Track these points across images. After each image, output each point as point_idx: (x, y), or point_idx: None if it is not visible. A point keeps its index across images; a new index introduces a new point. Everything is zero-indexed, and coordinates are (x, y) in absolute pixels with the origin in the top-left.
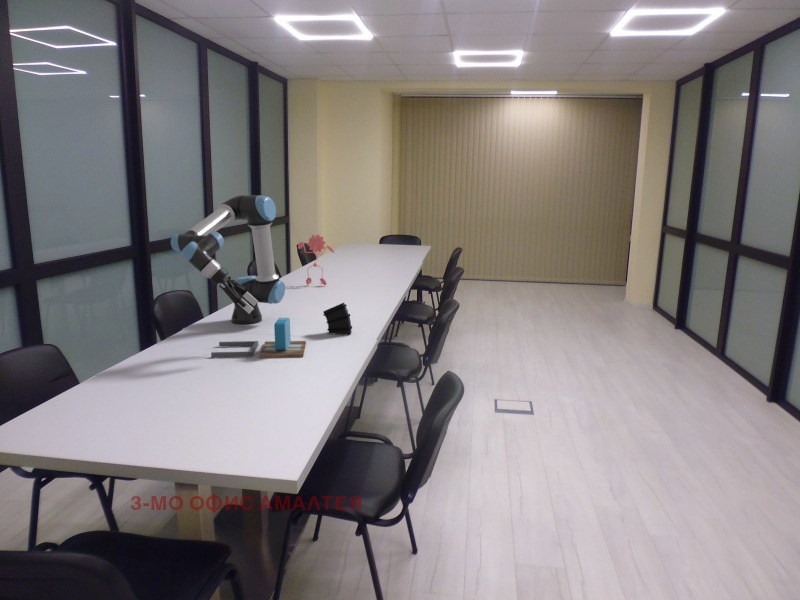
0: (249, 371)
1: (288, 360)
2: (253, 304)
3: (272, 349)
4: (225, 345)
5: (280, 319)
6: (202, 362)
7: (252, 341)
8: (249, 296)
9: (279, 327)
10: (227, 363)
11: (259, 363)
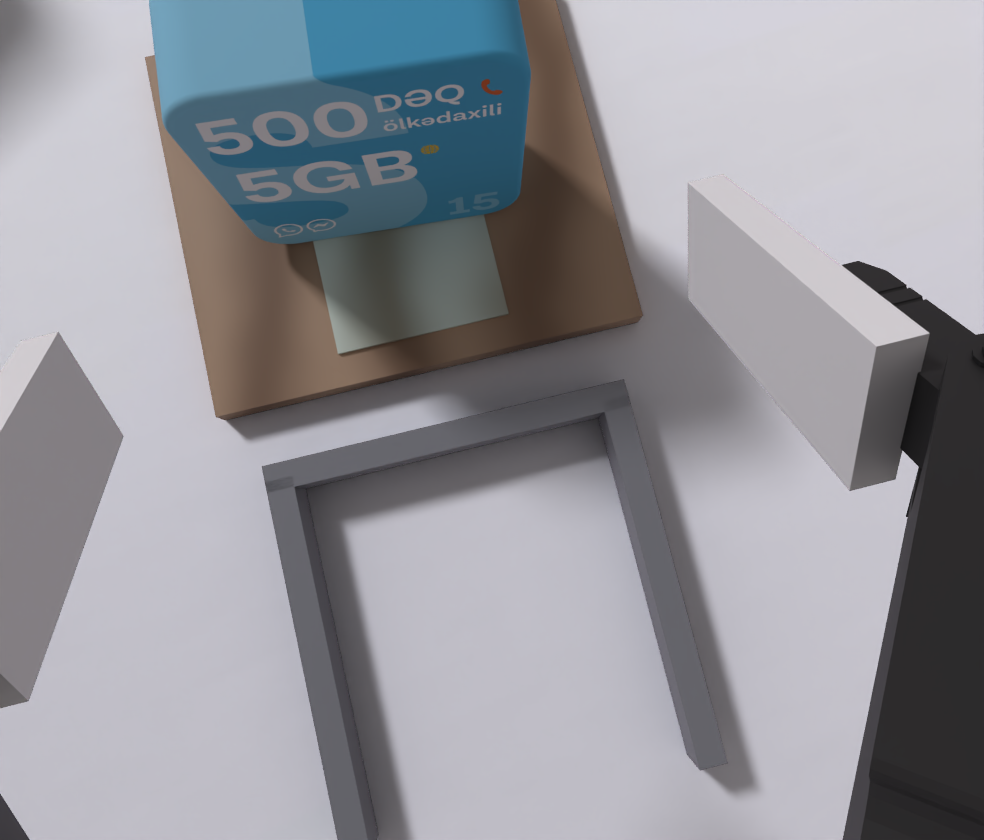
0: (973, 267)
1: (649, 68)
2: (106, 439)
3: (468, 253)
4: (363, 775)
5: (293, 45)
6: (855, 764)
7: (284, 517)
8: (6, 510)
9: (520, 20)
10: (831, 527)
11: None
